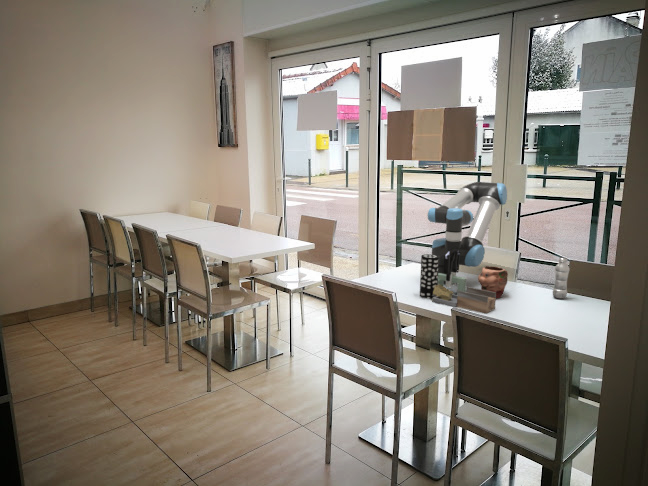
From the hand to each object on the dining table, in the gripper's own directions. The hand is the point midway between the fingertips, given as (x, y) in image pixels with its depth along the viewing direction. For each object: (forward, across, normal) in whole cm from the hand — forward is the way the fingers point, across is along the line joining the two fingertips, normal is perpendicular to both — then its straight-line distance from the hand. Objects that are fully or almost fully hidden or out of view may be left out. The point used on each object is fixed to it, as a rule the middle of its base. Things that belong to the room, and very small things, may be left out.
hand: (450, 285), depth 257 cm
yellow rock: (0, +14, +3) cm, 14 cm away
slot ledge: (+3, +14, +20) cm, 25 cm away
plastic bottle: (+4, -27, +44) cm, 52 cm away
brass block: (-1, +14, +6) cm, 15 cm away
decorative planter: (+4, -10, +18) cm, 21 cm away
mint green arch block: (+4, 0, 0) cm, 4 cm away
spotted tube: (+4, +13, -5) cm, 14 cm away
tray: (+3, +14, +7) cm, 16 cm away
